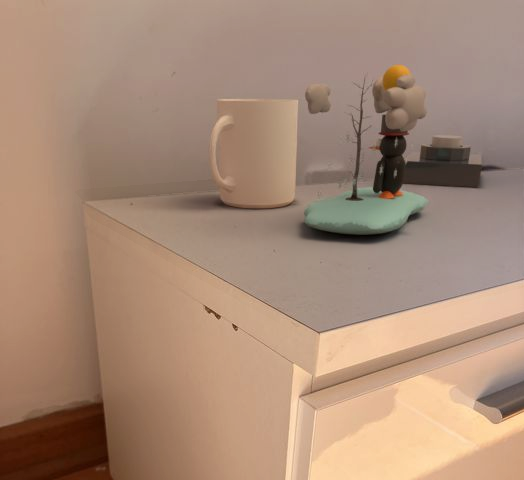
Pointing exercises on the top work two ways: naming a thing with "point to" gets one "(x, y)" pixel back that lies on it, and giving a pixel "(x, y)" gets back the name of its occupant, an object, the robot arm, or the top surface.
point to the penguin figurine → (388, 168)
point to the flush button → (446, 141)
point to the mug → (255, 152)
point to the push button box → (443, 166)
